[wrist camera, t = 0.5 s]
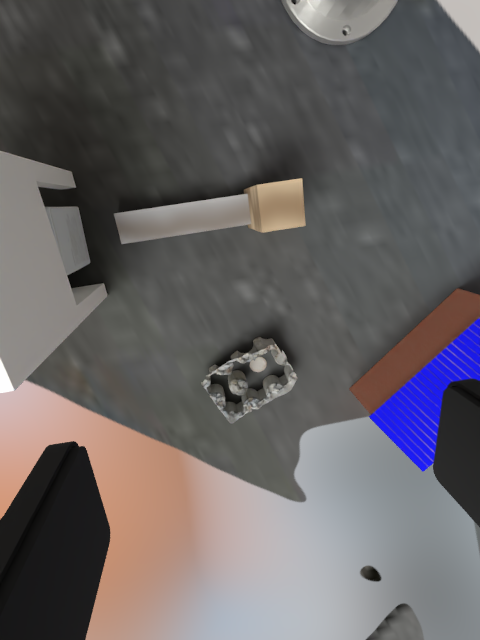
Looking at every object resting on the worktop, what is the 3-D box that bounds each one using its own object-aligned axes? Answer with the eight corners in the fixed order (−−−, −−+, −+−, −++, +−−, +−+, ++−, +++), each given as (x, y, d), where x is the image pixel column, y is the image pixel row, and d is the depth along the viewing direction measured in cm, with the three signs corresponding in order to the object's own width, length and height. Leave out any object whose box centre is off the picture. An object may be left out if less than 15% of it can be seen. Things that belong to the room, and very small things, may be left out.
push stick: (117, 208, 34) (96, 208, 27) (279, 184, 36) (302, 178, 28) (127, 246, 36) (109, 256, 28) (282, 222, 37) (305, 225, 30)
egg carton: (269, 327, 41) (277, 339, 38) (294, 372, 44) (304, 388, 40) (197, 368, 42) (197, 385, 38) (226, 410, 44) (229, 429, 41)
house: (499, 339, 47) (593, 379, 36) (393, 432, 50) (450, 495, 39) (456, 284, 43) (547, 310, 32) (345, 388, 46) (392, 445, 35)
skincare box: (79, 205, 34) (49, 205, 27) (91, 264, 36) (67, 277, 29) (17, 209, 33) (-30, 209, 26) (33, 268, 35) (-6, 283, 28)
